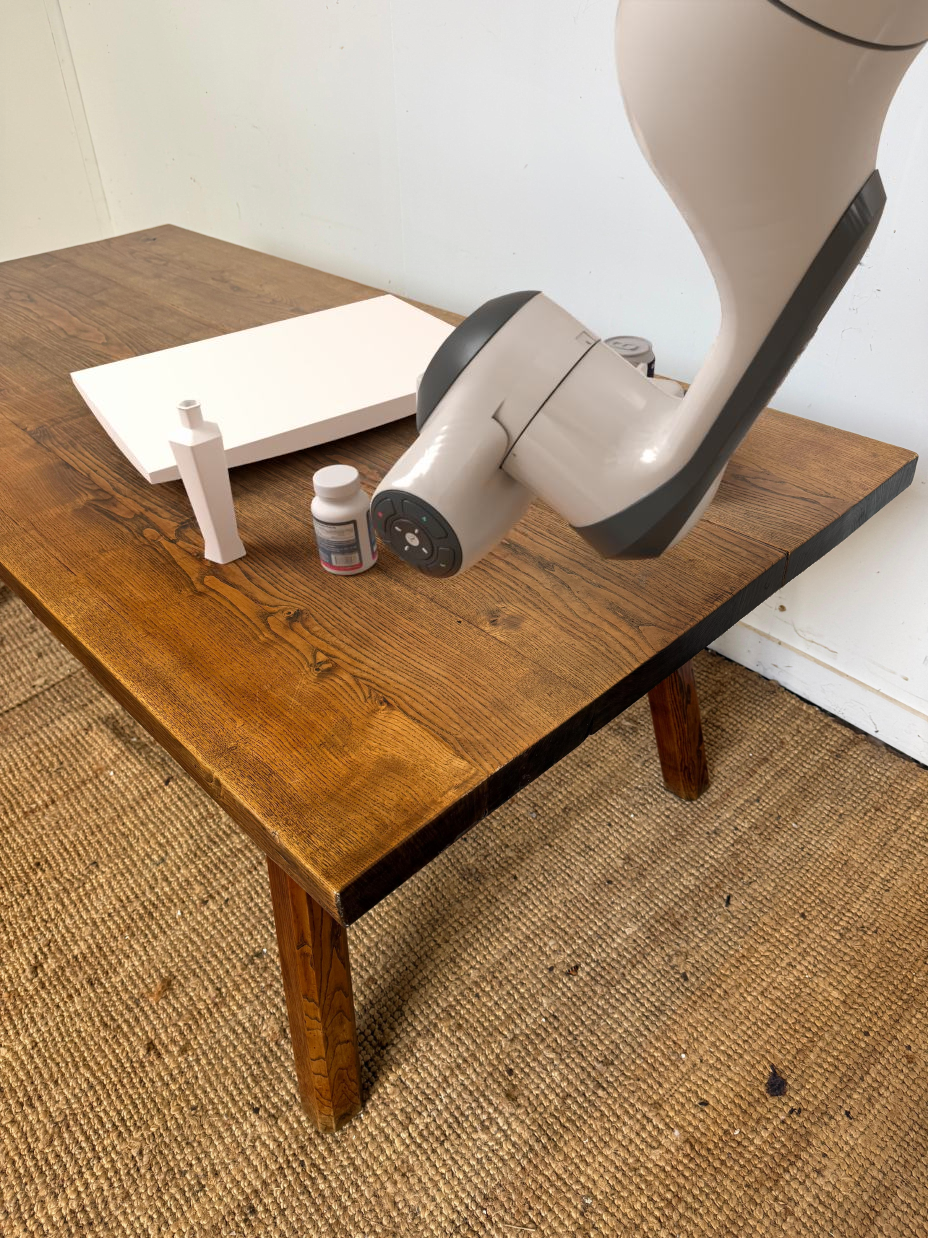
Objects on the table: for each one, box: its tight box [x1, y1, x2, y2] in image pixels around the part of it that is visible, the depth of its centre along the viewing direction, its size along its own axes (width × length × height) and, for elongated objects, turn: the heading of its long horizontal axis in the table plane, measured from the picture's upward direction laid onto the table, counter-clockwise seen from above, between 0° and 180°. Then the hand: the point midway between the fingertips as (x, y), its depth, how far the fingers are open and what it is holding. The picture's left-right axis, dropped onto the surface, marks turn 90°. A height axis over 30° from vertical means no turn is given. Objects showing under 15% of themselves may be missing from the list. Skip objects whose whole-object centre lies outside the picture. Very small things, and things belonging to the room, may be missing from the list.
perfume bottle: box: [168, 398, 247, 565], centre depth 79 cm, size 5×4×15 cm
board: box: [69, 293, 457, 485], centre depth 108 cm, size 45×32×5 cm
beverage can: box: [602, 335, 656, 378], centre depth 88 cm, size 6×6×12 cm
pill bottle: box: [310, 464, 379, 576], centre depth 78 cm, size 5×5×9 cm
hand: (585, 363), depth 75 cm, fingers open, 8 cm apart
